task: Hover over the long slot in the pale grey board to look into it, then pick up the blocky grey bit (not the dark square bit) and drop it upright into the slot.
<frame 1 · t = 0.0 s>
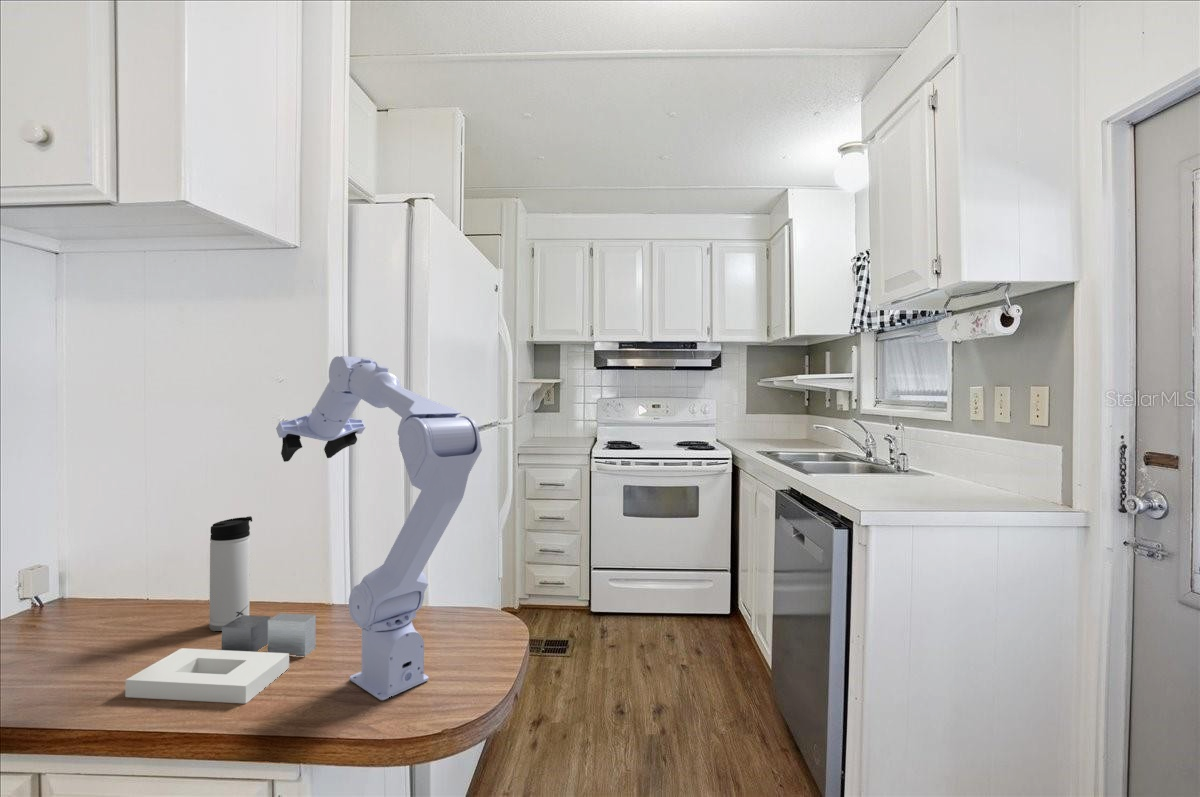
hand: (306, 455, 104), 32 cm above the table, tool tilted 50°, fingers open, 7 cm apart
blocky grey bit: (291, 652, 96), on the table
travel mug: (230, 626, 106), on the table
slot board: (211, 682, 85), on the table
square bit: (246, 650, 96), on the table
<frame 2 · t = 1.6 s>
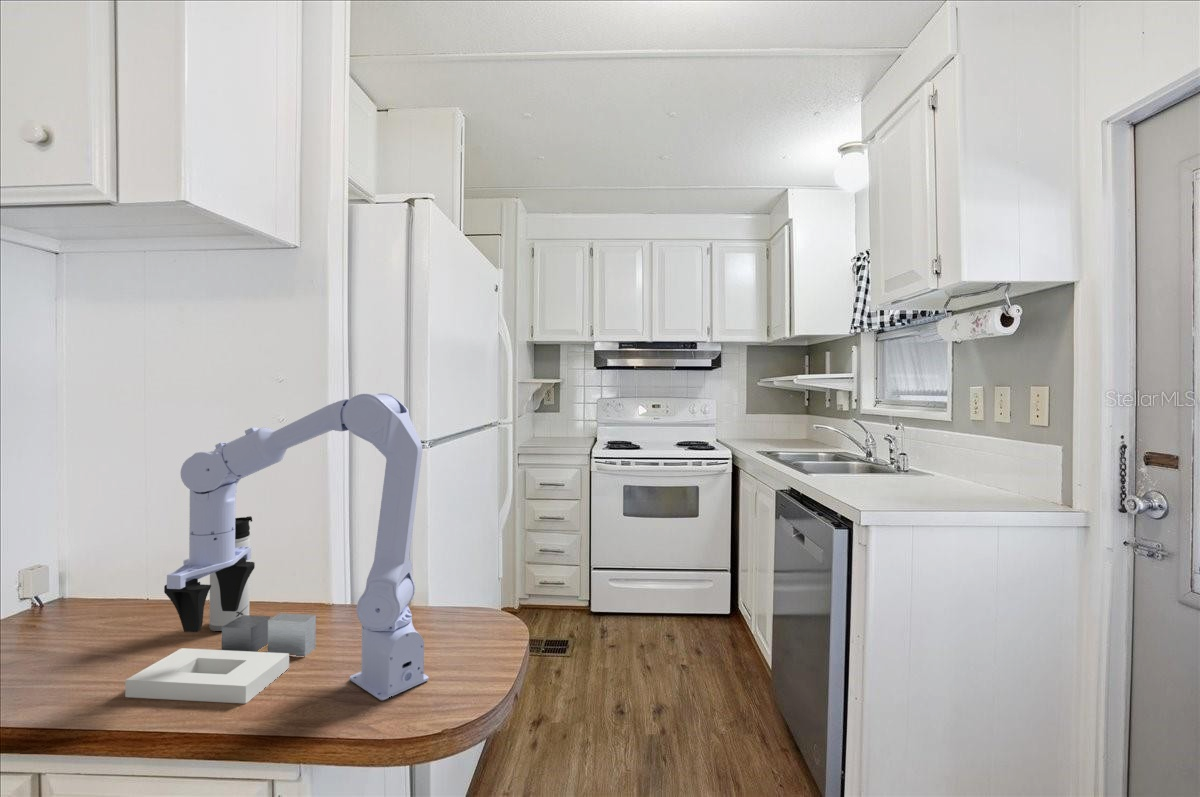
hand: (212, 620, 85), 9 cm above the table, tool pointing down, fingers open, 7 cm apart
nothing on the table moved.
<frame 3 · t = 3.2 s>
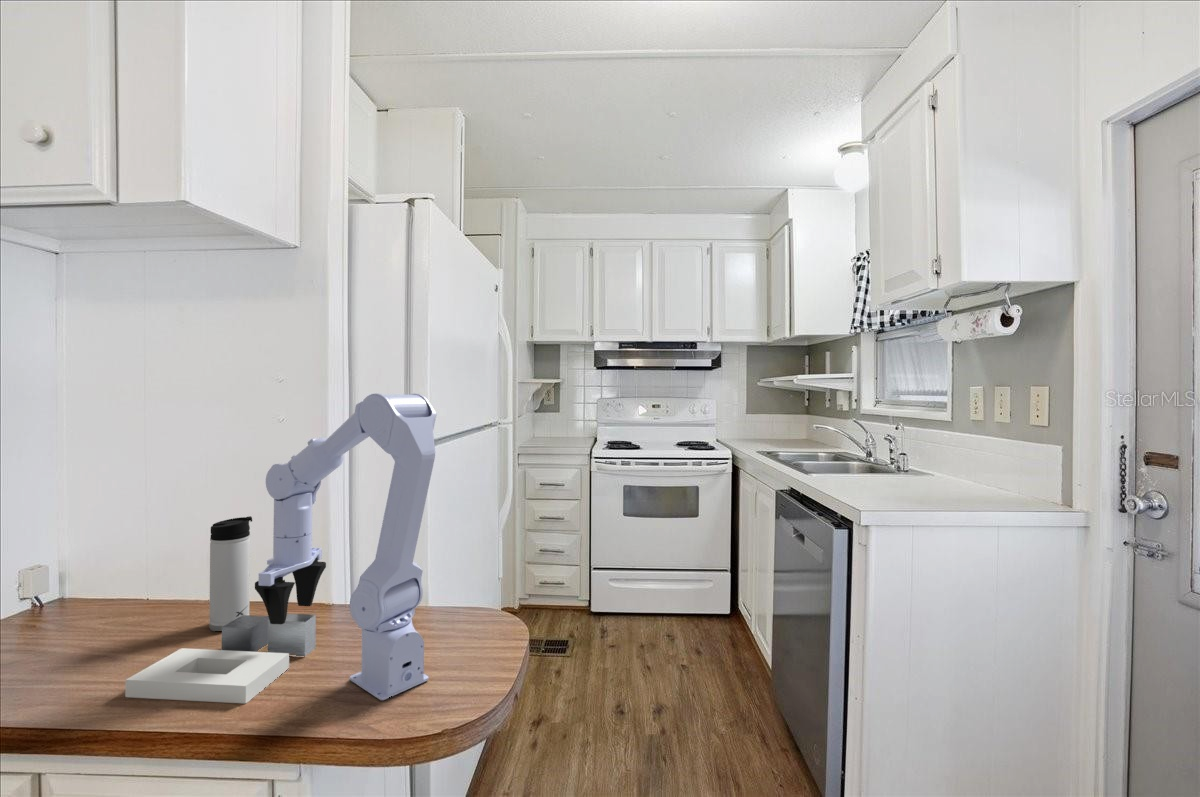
hand: (291, 614, 96), 6 cm above the table, tool pointing down, fingers open, 7 cm apart
nothing on the table moved.
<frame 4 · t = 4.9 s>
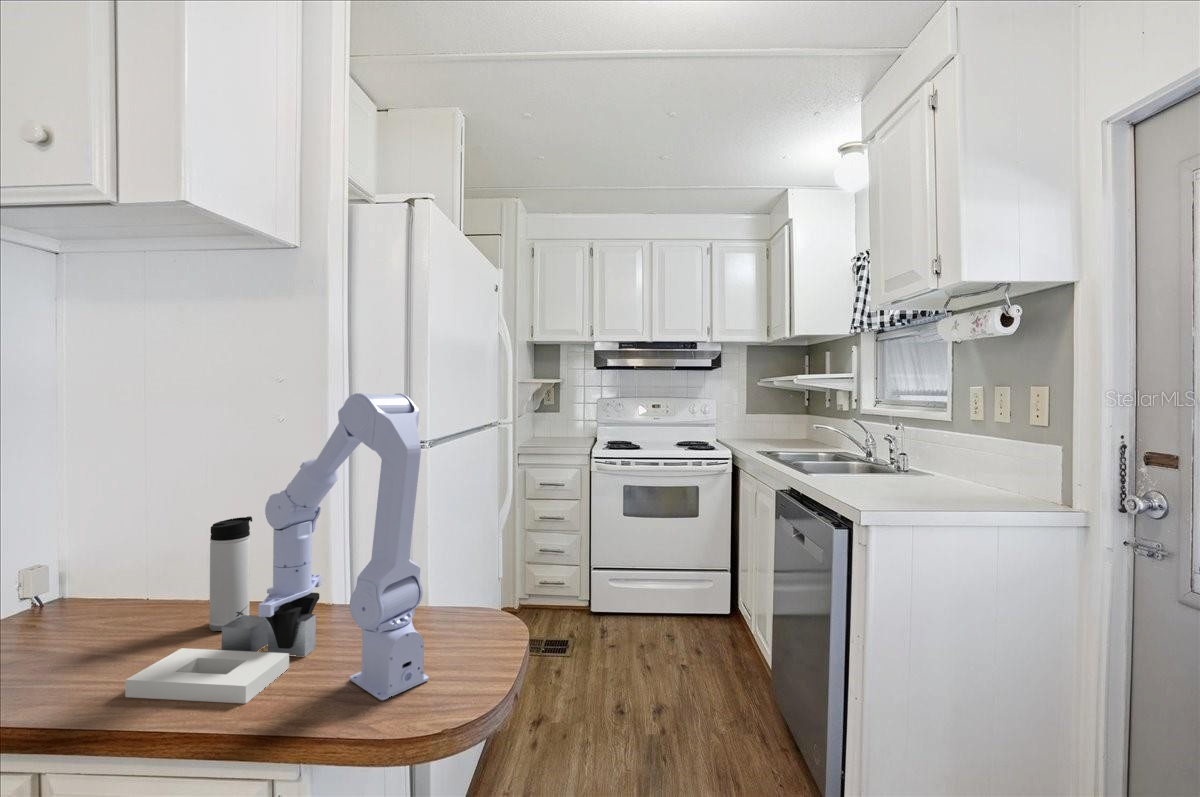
hand: (291, 642, 96), 2 cm above the table, tool pointing down, fingers closed on blocky grey bit, 3 cm apart
blocky grey bit: (291, 652, 96), on the table, touching gripper
everything else where it was.
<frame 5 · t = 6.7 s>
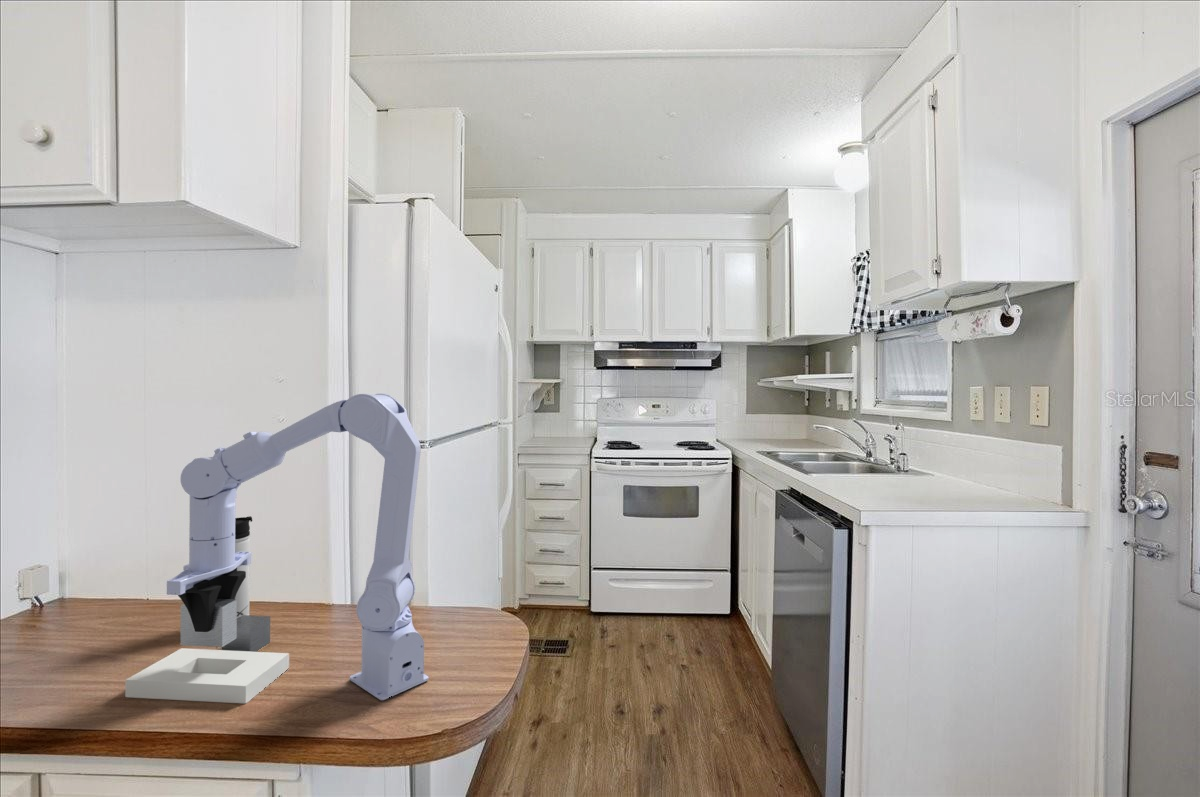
hand: (212, 625, 85), 9 cm above the table, tool pointing down, fingers closed on blocky grey bit, 3 cm apart
blocky grey bit: (209, 641, 85), point 6 cm above the table, touching gripper
everything else where it was.
when the fingers open (3 cm above the table, at t = 8.6 s): blocky grey bit stays where it is, resting in slot board.
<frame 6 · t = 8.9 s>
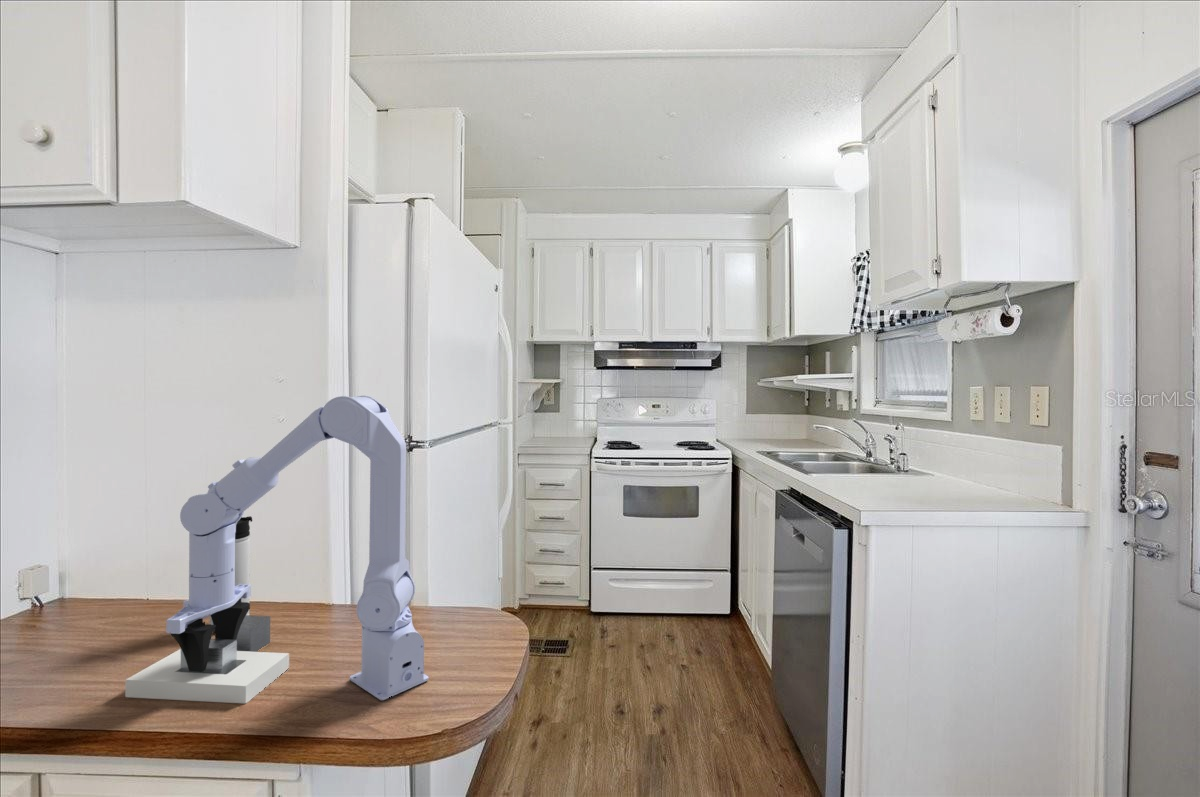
hand: (211, 661, 85), 3 cm above the table, tool pointing down, fingers open, 5 cm apart
blocky grey bit: (208, 682, 86), resting in slot board
everything else where it was.
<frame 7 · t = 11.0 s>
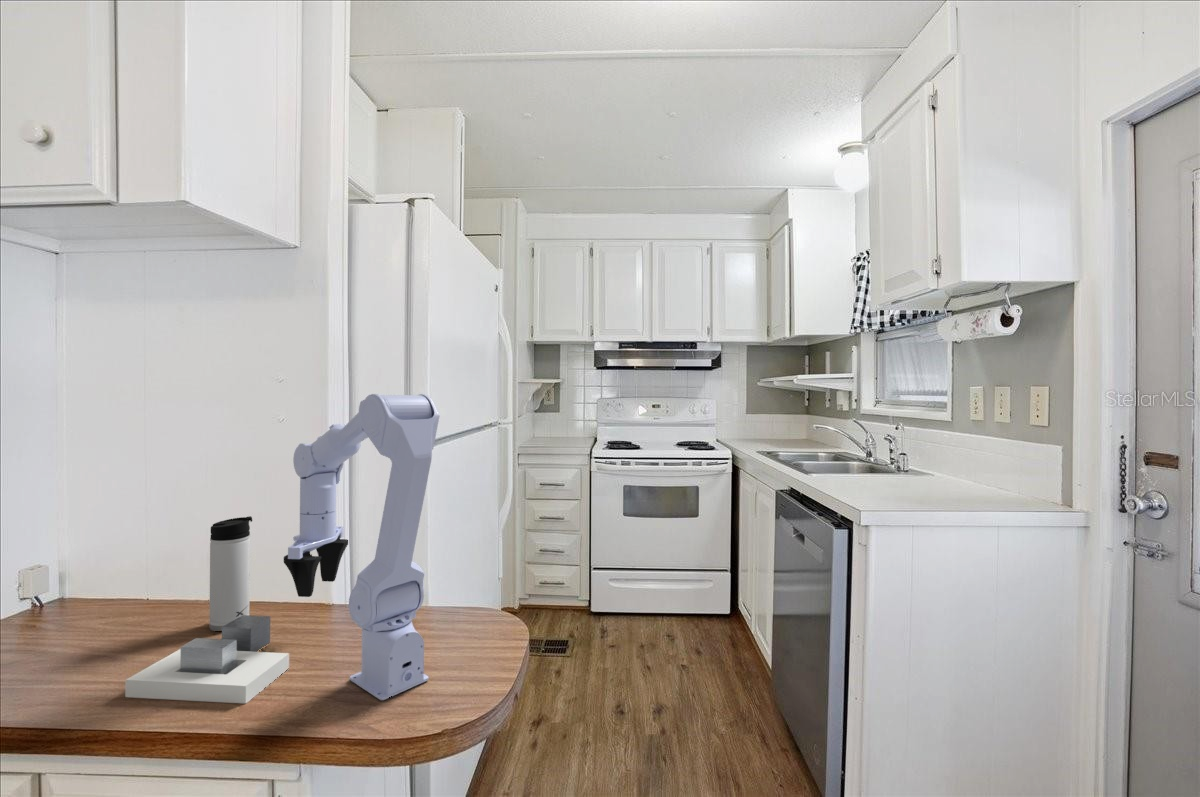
hand: (317, 588, 100), 9 cm above the table, tool pointing down, fingers open, 7 cm apart
nothing on the table moved.
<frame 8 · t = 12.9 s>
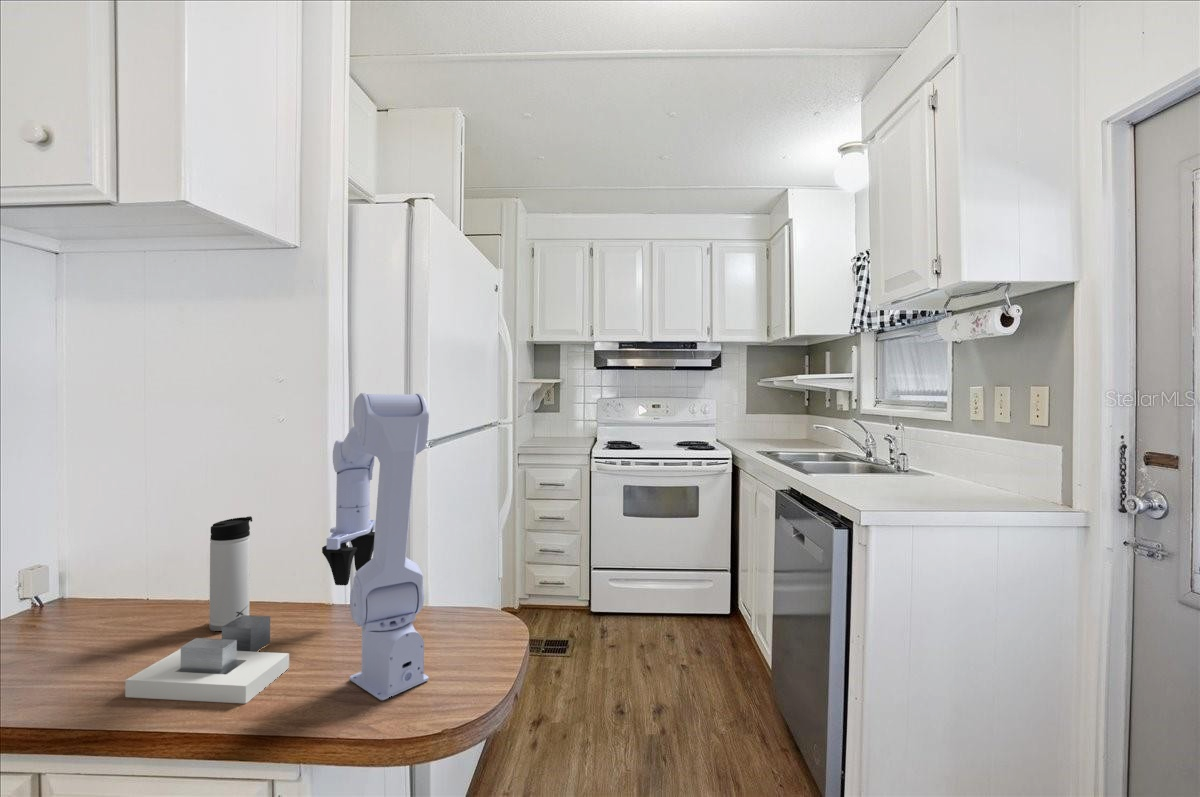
hand: (352, 577, 106), 9 cm above the table, tool pointing down, fingers open, 7 cm apart
nothing on the table moved.
at the end: blocky grey bit 0.4 cm off-centre on the slot board, point 0.0 cm above the slot board's base; blocky grey bit tilted 0°; square bit moved 0.1 cm from its start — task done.
